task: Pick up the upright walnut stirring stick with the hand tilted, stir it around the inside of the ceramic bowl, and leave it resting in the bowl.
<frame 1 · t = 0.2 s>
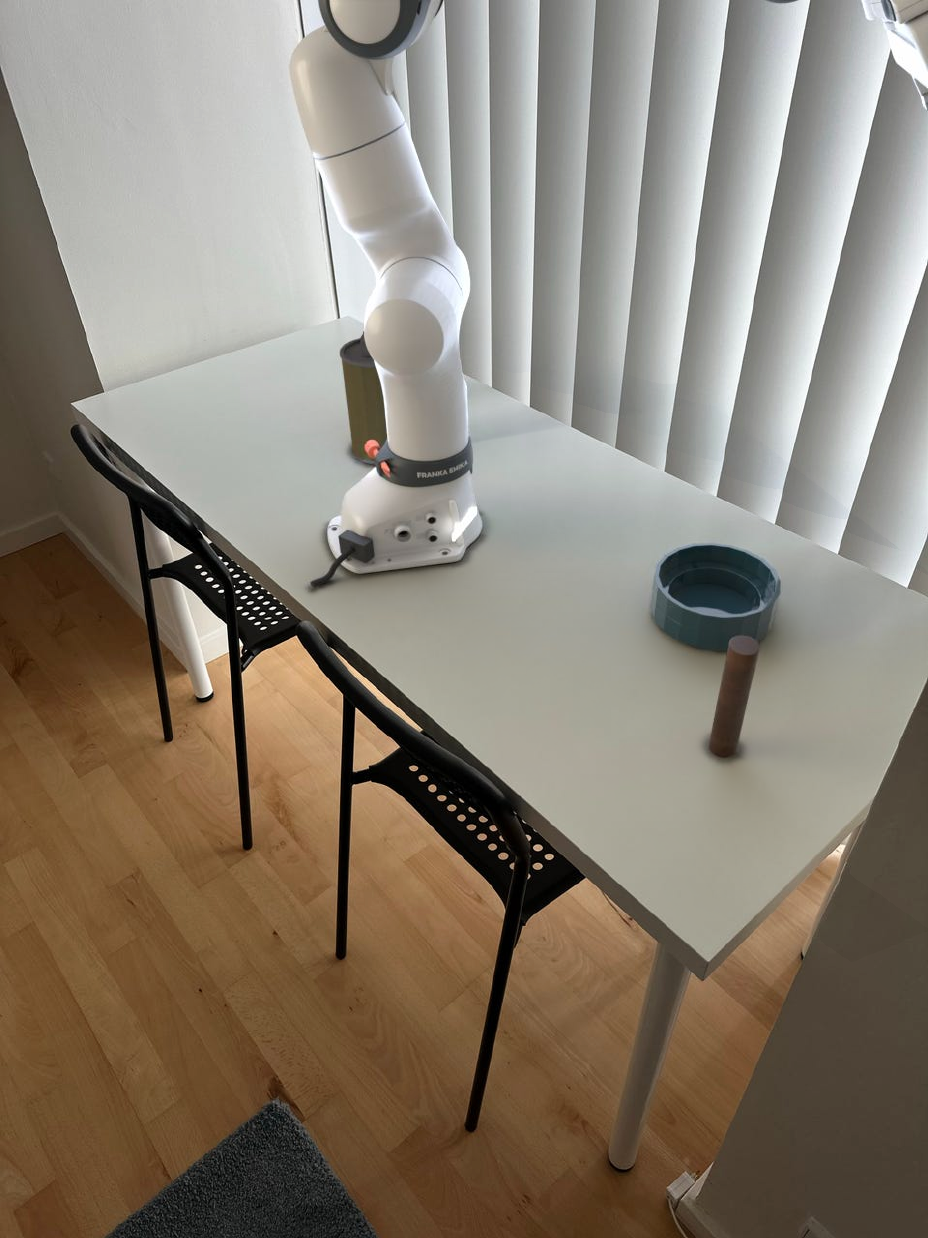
stick: (722, 747, 104), on the table
bowl: (710, 615, 121), on the table
lemon: (422, 397, 171), on the table
canister: (383, 449, 157), on the table
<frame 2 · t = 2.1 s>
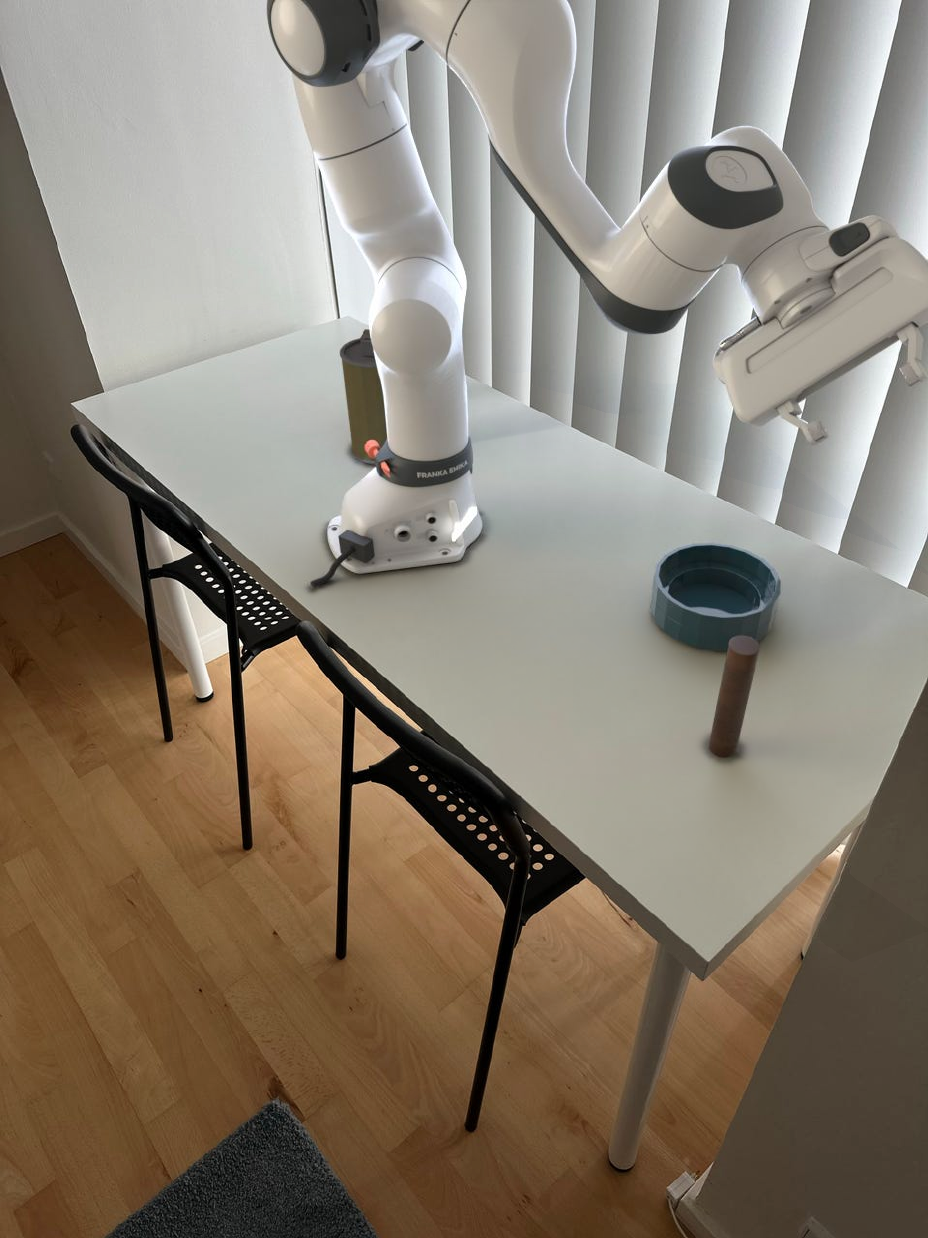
hand: (867, 412, 85), 37 cm above the table, tool tilted 55°, fingers open, 8 cm apart
nothing on the table moved.
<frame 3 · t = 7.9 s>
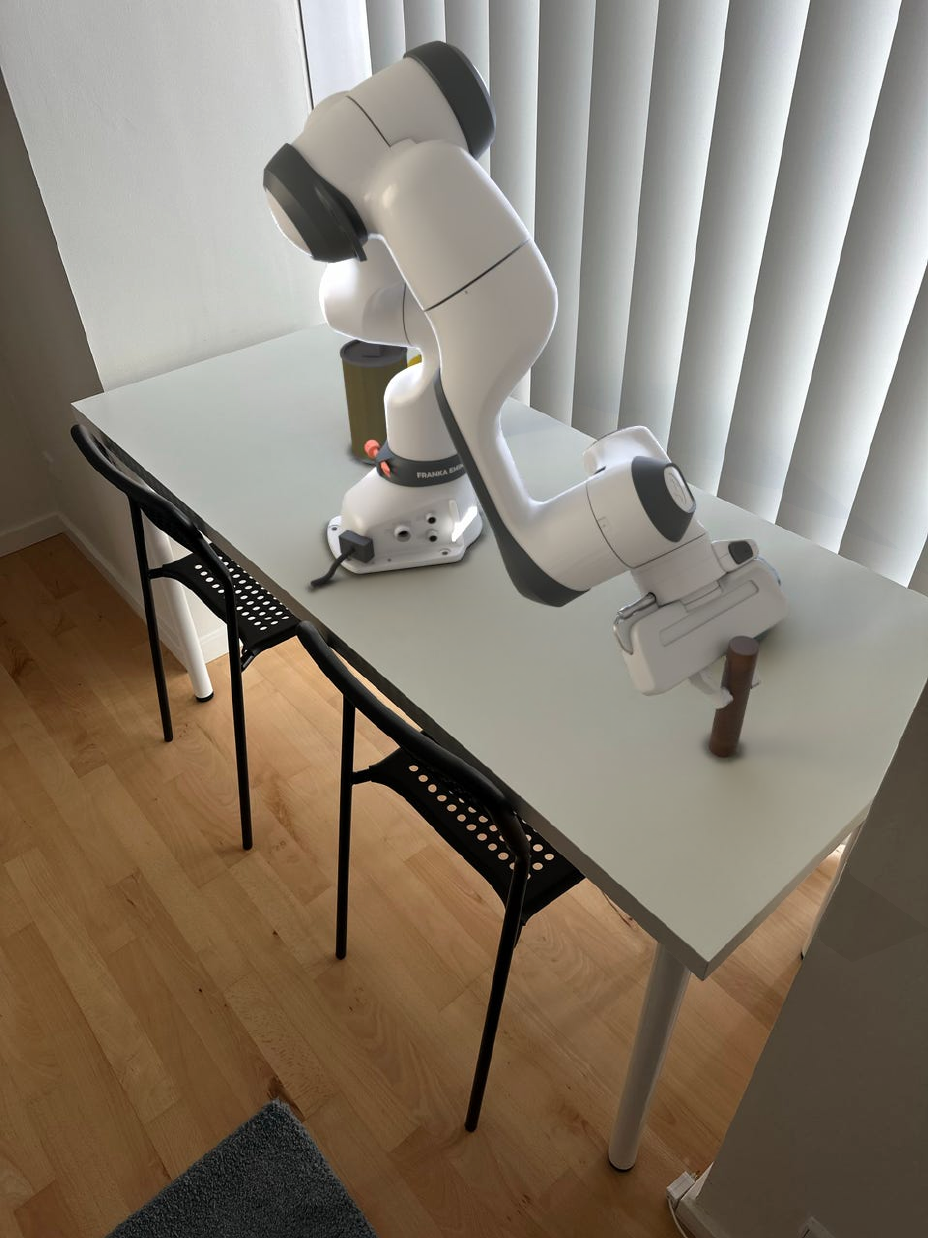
hand: (739, 696, 98), 8 cm above the table, tool tilted 45°, fingers closed on stick, 3 cm apart
stick: (722, 747, 104), on the table, touching gripper
everything else where it was.
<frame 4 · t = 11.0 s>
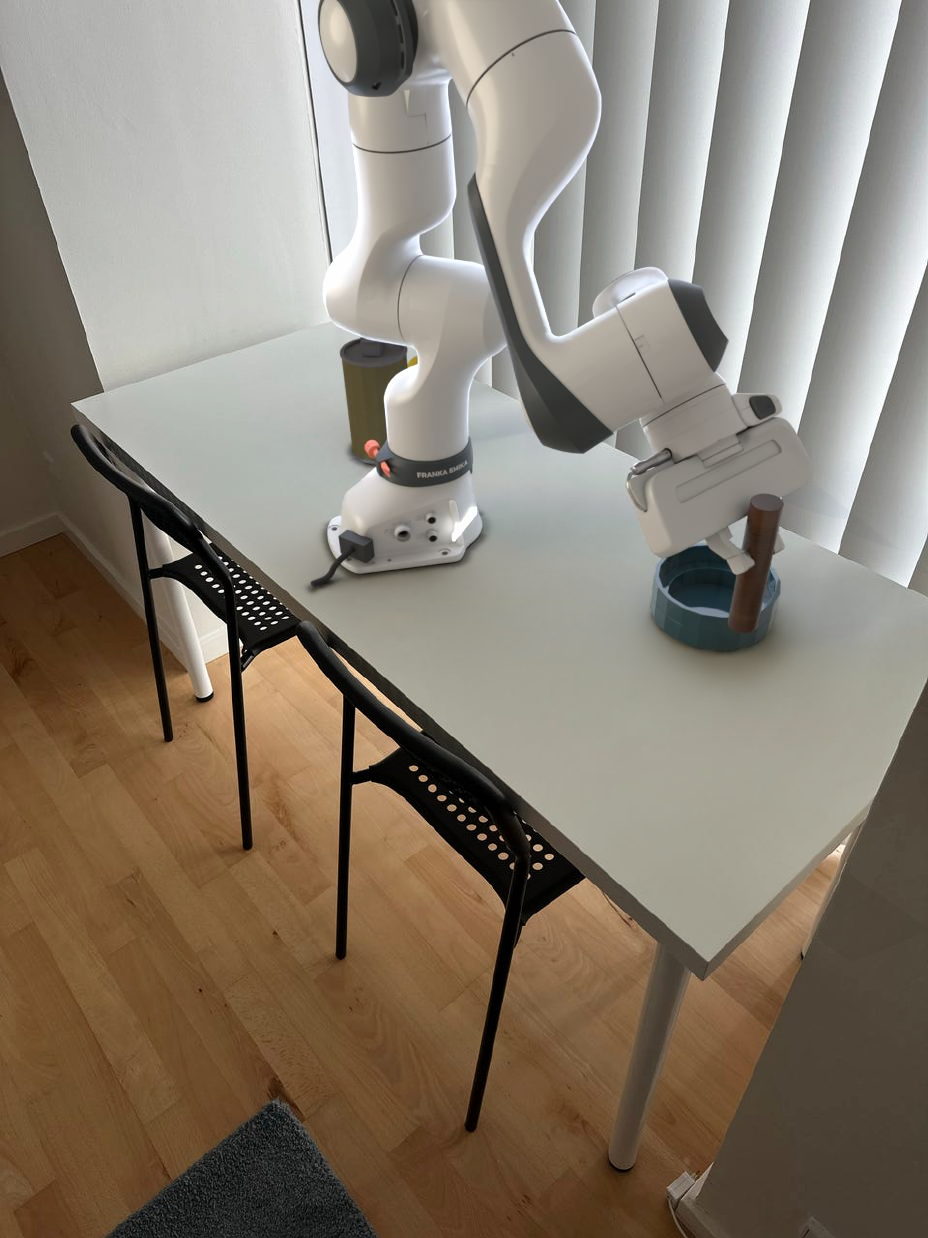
hand: (760, 561, 92), 23 cm above the table, tool tilted 45°, fingers closed on stick, 3 cm apart
stick: (742, 624, 98), point 14 cm above the table, touching gripper
everything else where it was.
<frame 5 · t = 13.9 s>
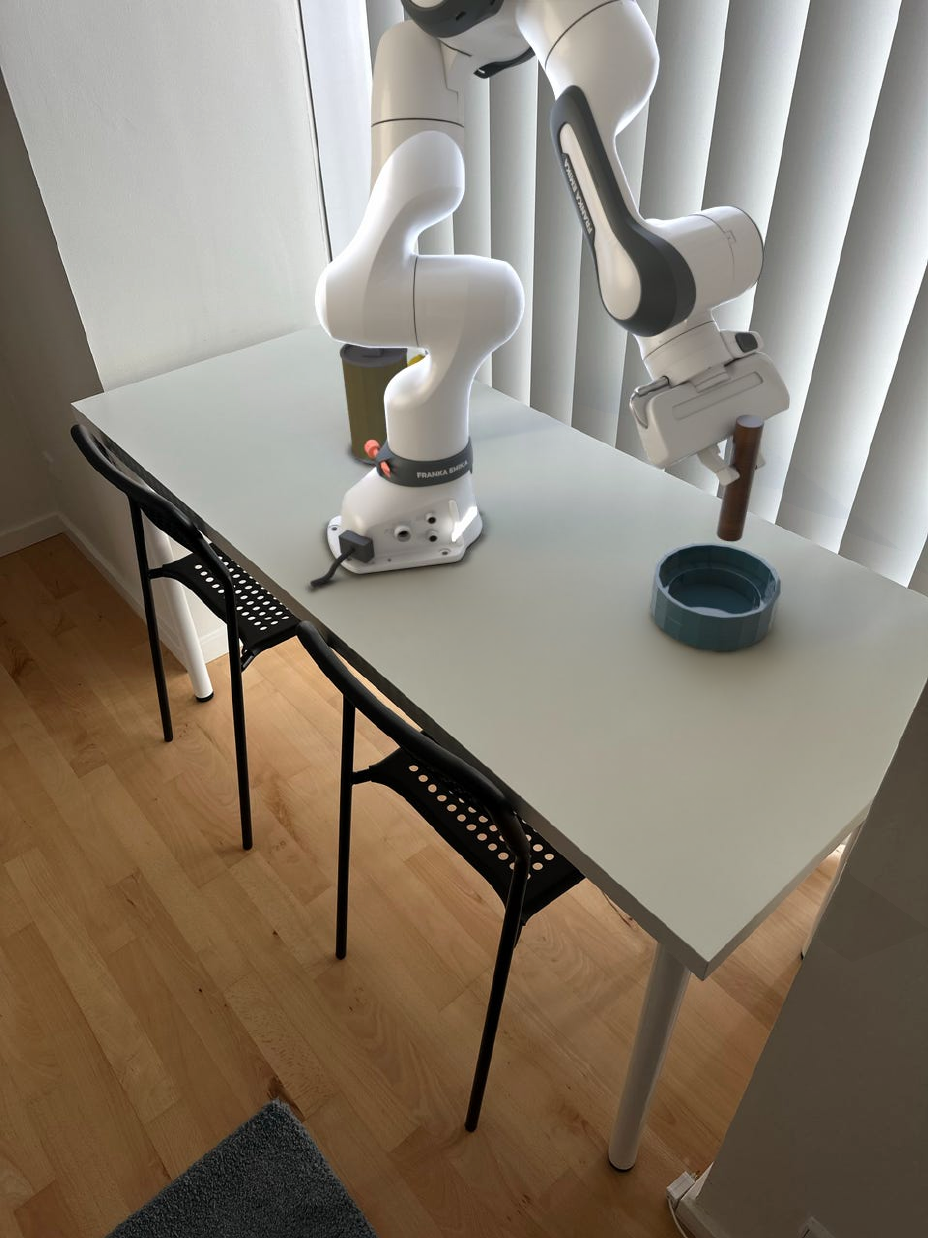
hand: (744, 475, 107), 21 cm above the table, tool tilted 45°, fingers closed on stick, 3 cm apart
stick: (729, 534, 112), point 13 cm above the table, touching gripper
everything else where it was.
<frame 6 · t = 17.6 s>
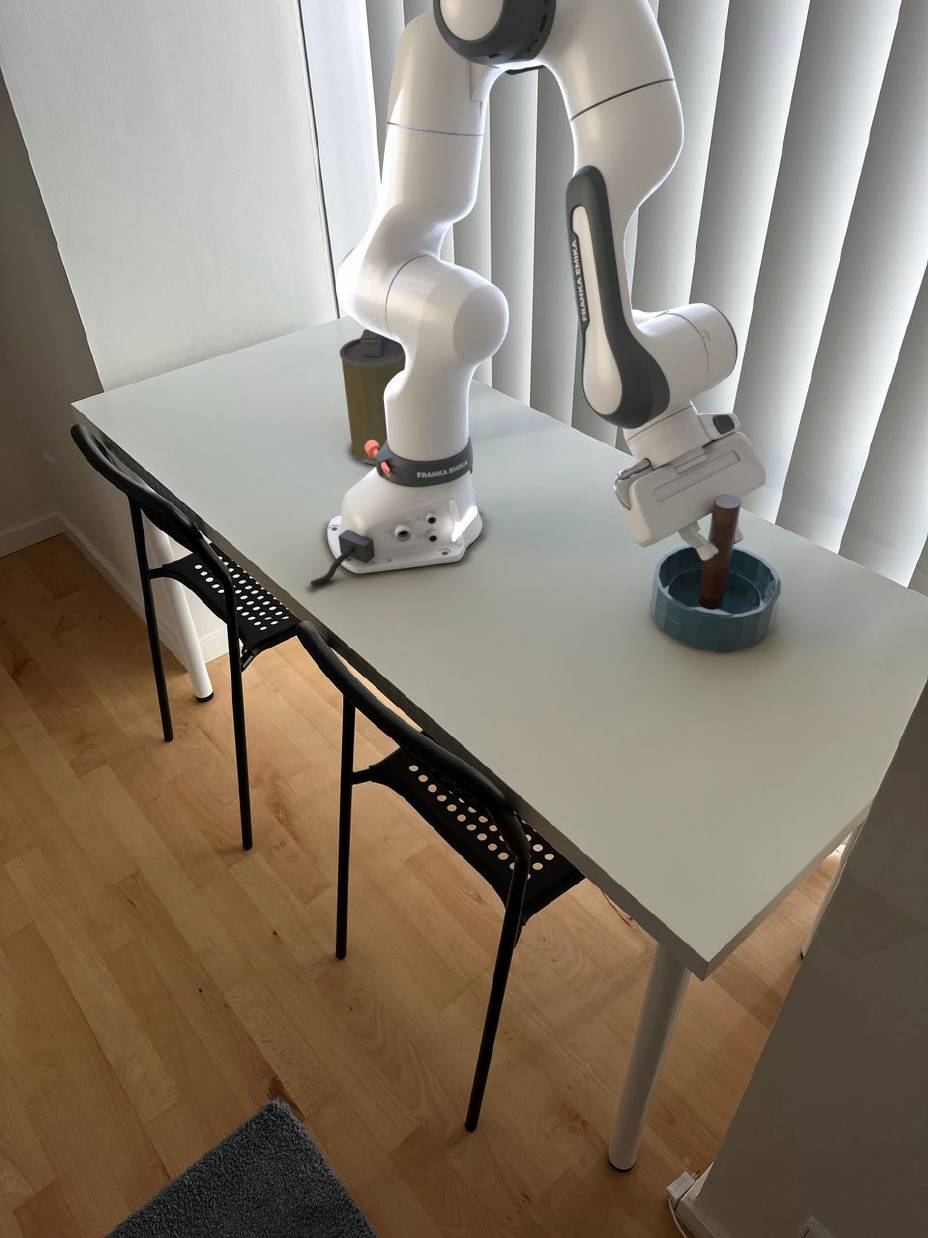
hand: (723, 550, 113), 11 cm above the table, tool tilted 45°, fingers closed on stick, 3 cm apart
stick: (710, 602, 118), point 3 cm above the table, touching gripper
everything else where it was.
when the fingers open (9 cm above the table, at t = 20.3 s): stick stays where it is, resting on bowl.
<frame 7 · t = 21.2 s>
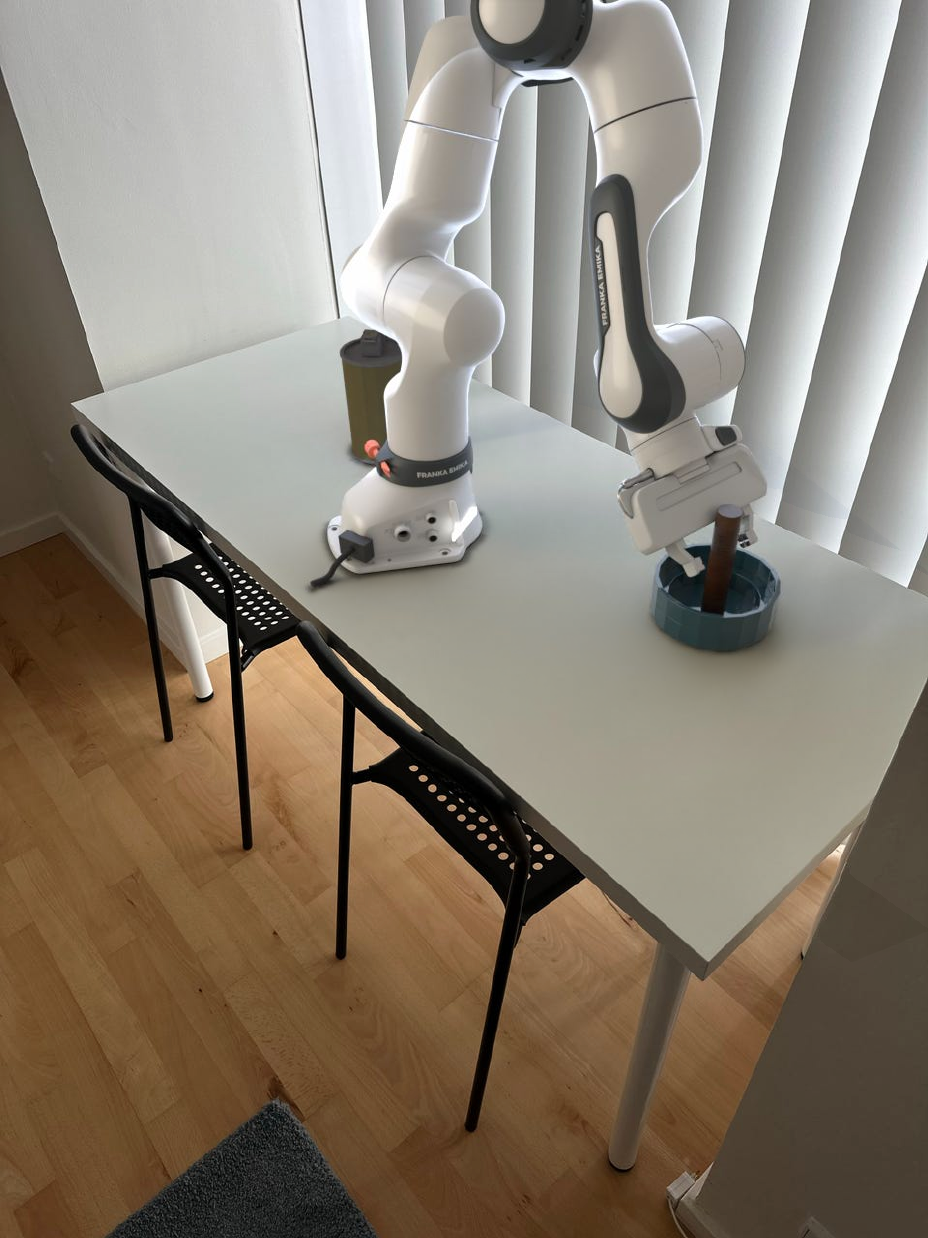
hand: (724, 559, 115), 9 cm above the table, tool tilted 45°, fingers open, 8 cm apart
stick: (712, 609, 121), point 1 cm above the table, touching bowl
everything else where it was.
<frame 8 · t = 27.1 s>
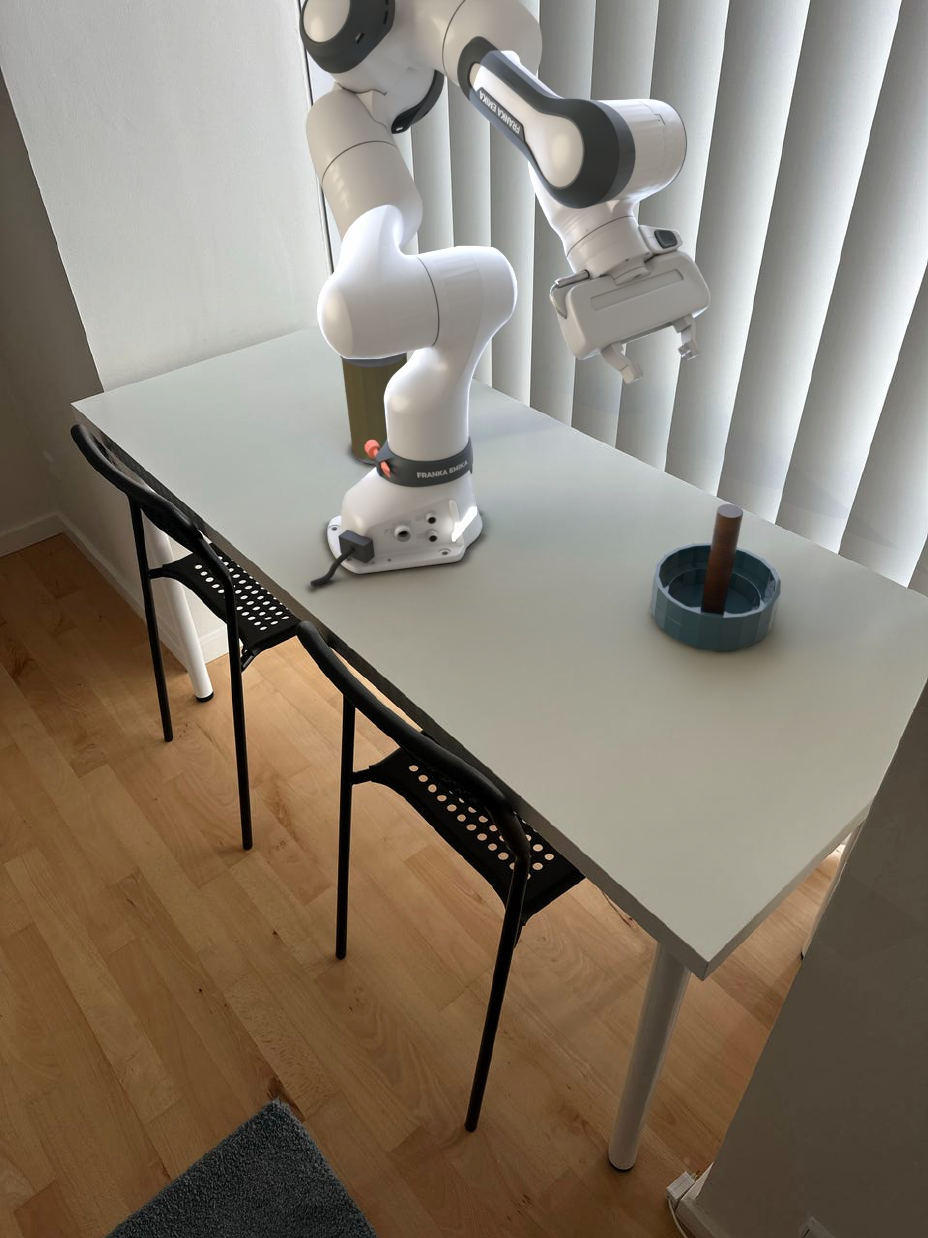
hand: (664, 368, 110), 29 cm above the table, tool tilted 45°, fingers open, 8 cm apart
nothing on the table moved.
at the end: stick inside the target area in the bowl (0.4 cm from its centre), point 0.8 cm above the bowl's base; stick moved 23.1 cm from its start; the gripper is holding nothing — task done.
